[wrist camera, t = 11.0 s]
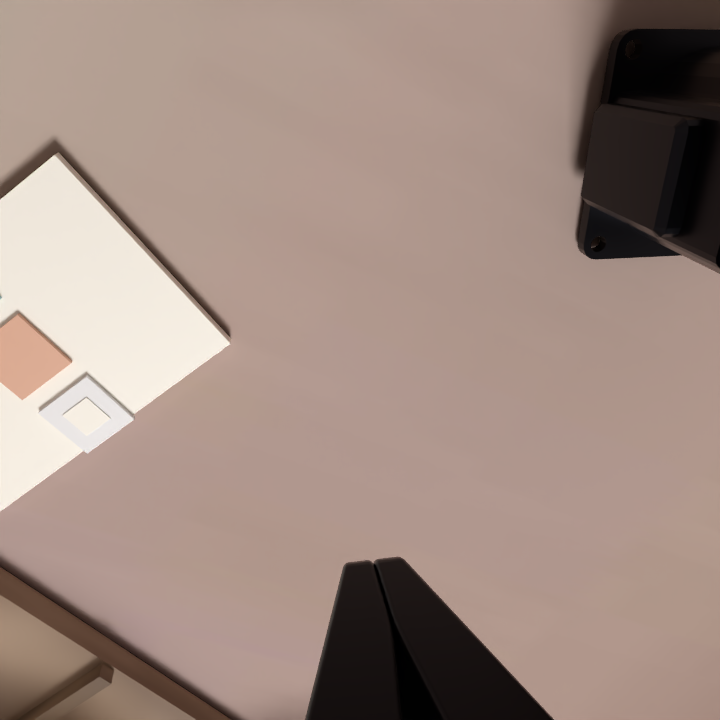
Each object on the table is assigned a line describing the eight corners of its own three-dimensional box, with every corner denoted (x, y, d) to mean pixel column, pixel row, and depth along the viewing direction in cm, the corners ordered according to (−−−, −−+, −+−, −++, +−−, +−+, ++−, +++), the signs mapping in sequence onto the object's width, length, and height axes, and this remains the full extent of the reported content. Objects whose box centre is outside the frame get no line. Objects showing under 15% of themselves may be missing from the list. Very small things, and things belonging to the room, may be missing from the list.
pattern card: (55, 149, 17) (49, 152, 16) (232, 340, 20) (232, 348, 19) (-203, 362, 18) (-216, 371, 18) (2, 508, 21) (-4, 520, 21)
